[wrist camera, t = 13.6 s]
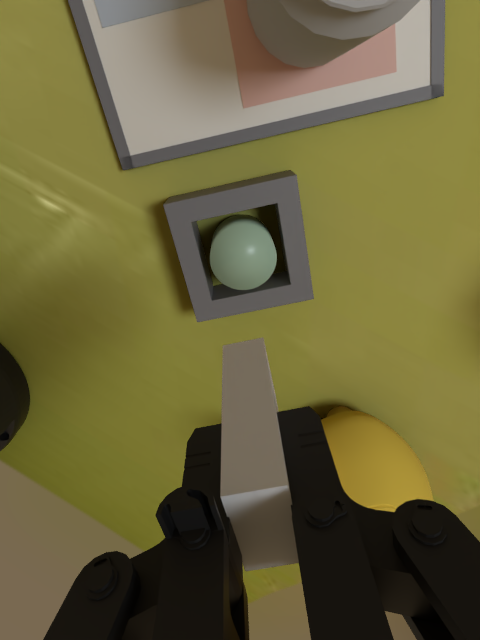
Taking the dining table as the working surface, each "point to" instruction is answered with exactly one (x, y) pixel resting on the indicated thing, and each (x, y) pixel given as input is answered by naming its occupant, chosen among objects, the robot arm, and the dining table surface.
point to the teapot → (373, 461)
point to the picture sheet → (238, 75)
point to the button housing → (229, 200)
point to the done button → (242, 252)
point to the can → (320, 26)
